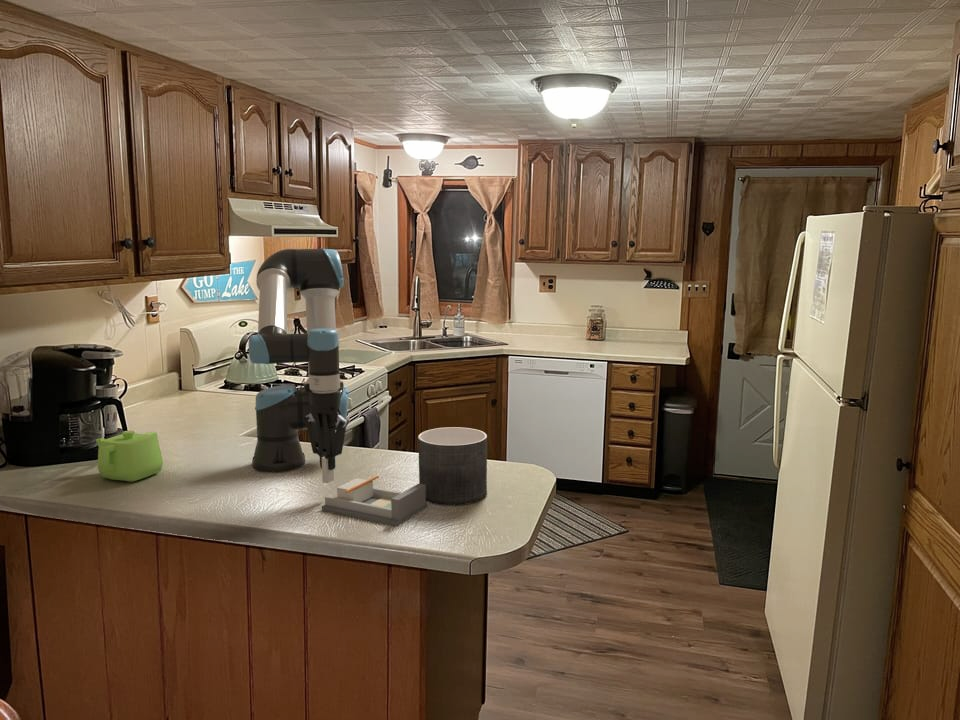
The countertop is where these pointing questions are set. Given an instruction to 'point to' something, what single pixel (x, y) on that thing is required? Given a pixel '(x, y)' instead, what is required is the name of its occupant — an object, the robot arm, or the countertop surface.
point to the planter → (453, 465)
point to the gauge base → (382, 505)
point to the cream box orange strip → (356, 490)
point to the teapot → (129, 456)
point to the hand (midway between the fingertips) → (328, 481)
